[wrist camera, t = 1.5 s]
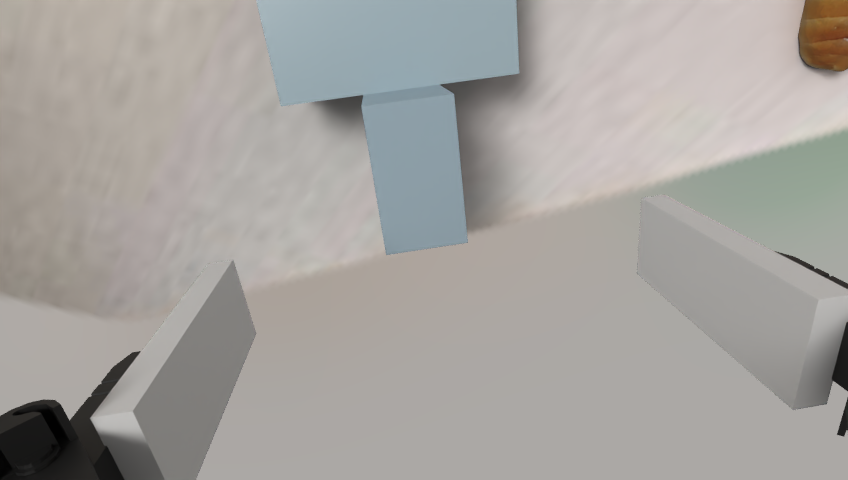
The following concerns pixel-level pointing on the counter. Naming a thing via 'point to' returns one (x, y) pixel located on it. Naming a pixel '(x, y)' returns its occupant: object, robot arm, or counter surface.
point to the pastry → (825, 34)
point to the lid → (397, 92)
